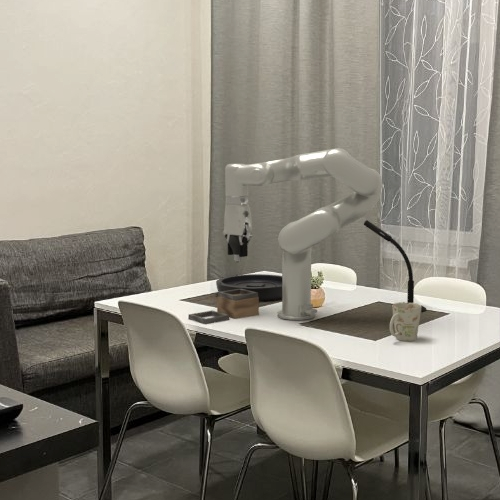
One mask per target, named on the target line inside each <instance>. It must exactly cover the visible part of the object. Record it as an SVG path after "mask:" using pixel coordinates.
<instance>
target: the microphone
mask: <svg viewBox="0 0 500 500" xmlns="http://www.w3.org/2000/svg"><path fill="white" fill-rule="evenodd" d="M363 226H364V227H366V228H367V229H368V230H370V231H372V232H374V233H375V234H377V235H378V236H379V237H381V238H382V239H383V240H386V241H387V242H390V243H391V244H392V245H393V246H394V247H395V248H396V249H397V250H398V251H399V252H400V254H401V256H402V258H403V259H404V262H405V264H406V267H407V268H406V269H407V273H408V274H407V275H408V280H407V298H406V299H407V302H404V301H403V302H402V303H415V301H414V298H415V296H414V294H415V280H414V275H413V268H412V265H411V262H410V259H409V257H408V255H407V253H406V252H405V250H404V248H403V247H402V246H401V245H400V244H399V243H398V242H397V241H396V240H395V239H394V238H392V236H391V235H390V234H389V233H387V232H386V231H384V230H383V229H381V228H379V227H378V226H376V225H375V224H374V223H372V222H371V221H370V220H364V222H363ZM420 305H421V304H420ZM426 311H427V307H426V306H424V305H421V313H424V312H426Z"/></svg>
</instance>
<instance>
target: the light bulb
mask: <svg viewBox="0 0 500 500" xmlns="http://www.w3.org/2000/svg"><path fill="white" fill-rule="evenodd" d="M242 239H244V237H242ZM229 244H230V247H231V248H232V251H233V254H234V255H233V261H234V262H236V263H240V262H241V261H242V257H239V245H240V241H239V236H235V235H231V236H230V238H229Z"/></svg>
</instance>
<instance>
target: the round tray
mask: <svg viewBox="0 0 500 500" xmlns="http://www.w3.org/2000/svg"><path fill="white" fill-rule="evenodd" d="M215 285H216V289H217V293H218V292H221V291H228V290H235V289H244V290H249V291H253V292H257V293H258V297H259V301H264V302H273V301H280V300H281V301H282V275H277V274H264V273H263V274H262V273H257V274H256V273H255V274H254V273H252V274H251V273H250V274H236V275H229V276H224V277H221V278H218V279H217V280H216V282H215Z"/></svg>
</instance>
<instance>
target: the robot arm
mask: <svg viewBox="0 0 500 500" xmlns="http://www.w3.org/2000/svg"><path fill="white" fill-rule="evenodd" d="M224 173H225V176H224V177H225V186H224V187H225V207H224V208H225V209H224V218H223V219H224V220H223V230H222V234H223V235H224V238H225V239H226V243H227V255H228V256H232V255H233V256H234V254H233V251H232V248H231V247H230V244H229V238H230V236H231V235H235V236H239V241H240V245H239V257H241V258H244V257H248V245H249V243H250V241H251V239H252V238H253V236H254V235H253V222H252V221H253V220H252V212H251V207H250V205H249V186H251V187H263V186H266V185H271V184H276V183H283V182H291V181H298V182H301V181H310V180H314V179H315V180H316V179H321V178H328V177H332V178H334V179H336V180H337V181H338V182H339V183H341V184H343V185H344V186H345V187H347V188H349V189H350V190H352V192H350V193H349V194H347V195H346V196H344V197H342V198H340V199H338V200H336V201H335V202H332V203H330V204H328V205H326V206H322V207H319V208H318V209H316V210H315V211H313V212H312V213H309V214H307V215H305V216H304V217H301V218H299V219H298V220H295V221H291V222H289V223H288V224H286V225H285V226H284V227H283V228H282V229H281V230H280V232H279V233H278V246H279V247H280V249H281V250H282V264H281V265H282V269H281V273H282V275H281V276H282V299H281V305H282V306H281V308H282V309H281V310H279V311H277V317H278V318H280V319H283V320H289V321H290V320H291V321H303V320H304V321H306V320H311V319H314V318H315V317H316V314H317V313H318V309H317V308H314V304H313V303H312V252H313V251H312V250H313V249H312V248H313V247H315V246H317V245H319V244H320V243H323V242H324V241H327V240H328V239H330V238H332V237H333V236H335V234H337V232H338V231H339V230H341V229H343V228H344V227H347V226H349V225H350V224H352V223H354V222H356V221H358V220H359V219H362V218H363V217H364V216H367V214H369V213H370V212H371V211H372V210H373V209H374V208H375V206H376V205H377V204H378V202H379V200H380V197H381V194H382V193H381V192H382V188H383V187H382V183H383V181H382V176H381V174H380V173H379V172H378V171H377V170H376V169H374V168H370V167H369V166H367V165H365V164H364V163H362V162H360V161H359V160H357V159H356V158H355V157H353V156H351V155H350V154H349V152H348V151H347V150H346V149H343V148H341V147H337V148H336V147H335V148H331V149H324V150H319V151H313V152H308V153H301V154H296V155H293V156H291V157H287V158H281V159H275V160H271V161H264V162H258V163H252V164H251V163H250V164H245V163H228V164H226V166H225V171H224ZM242 237H244V239H242Z"/></svg>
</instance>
